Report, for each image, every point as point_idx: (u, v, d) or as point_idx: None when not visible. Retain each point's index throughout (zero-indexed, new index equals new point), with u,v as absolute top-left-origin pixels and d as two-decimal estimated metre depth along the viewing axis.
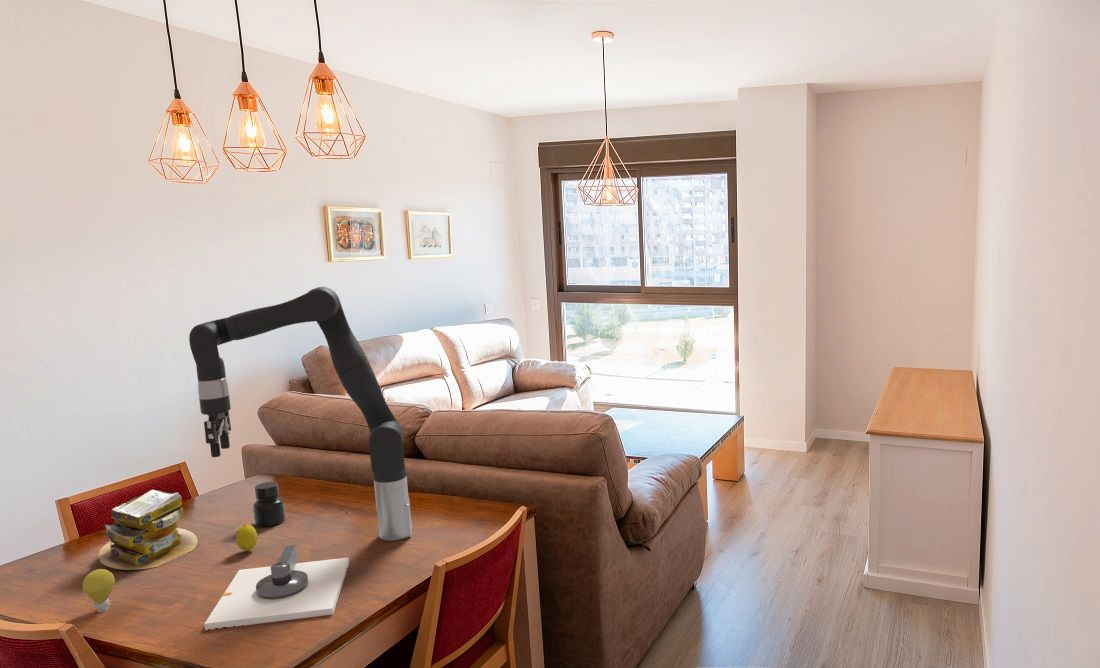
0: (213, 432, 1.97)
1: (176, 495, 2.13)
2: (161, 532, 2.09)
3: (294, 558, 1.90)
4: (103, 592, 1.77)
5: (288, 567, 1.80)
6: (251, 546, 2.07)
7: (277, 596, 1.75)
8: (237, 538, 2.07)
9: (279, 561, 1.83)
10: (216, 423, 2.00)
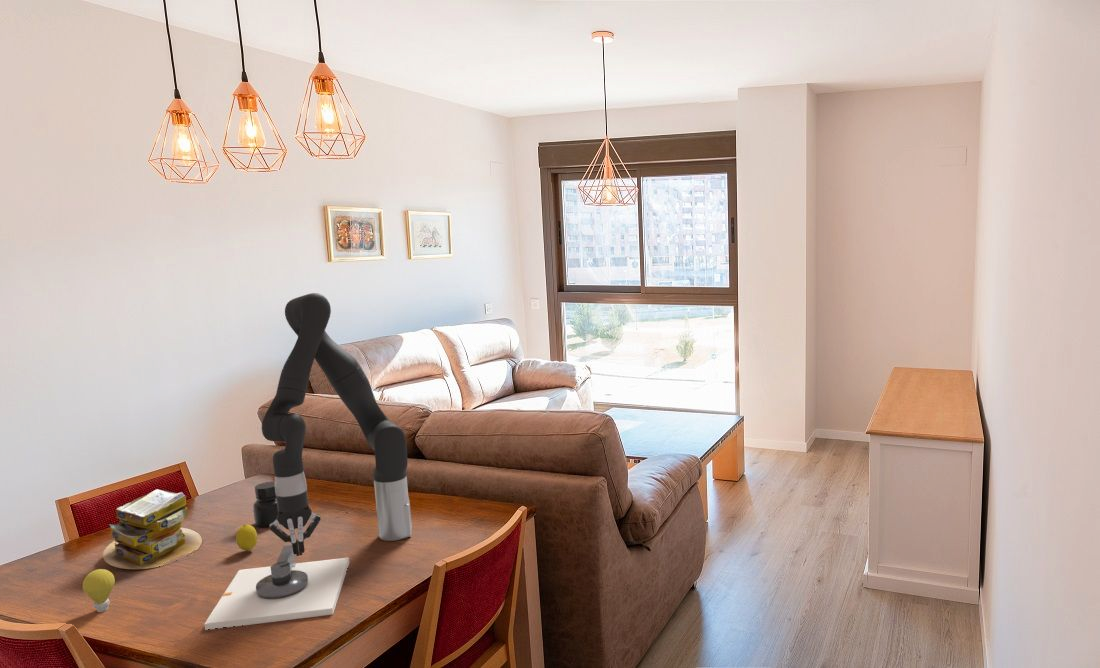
0: None
1: (180, 495, 2.13)
2: (166, 531, 2.09)
3: (292, 558, 1.90)
4: (103, 592, 1.77)
5: (288, 567, 1.80)
6: (251, 546, 2.07)
7: (278, 596, 1.76)
8: (237, 538, 2.07)
9: (278, 561, 1.83)
10: None
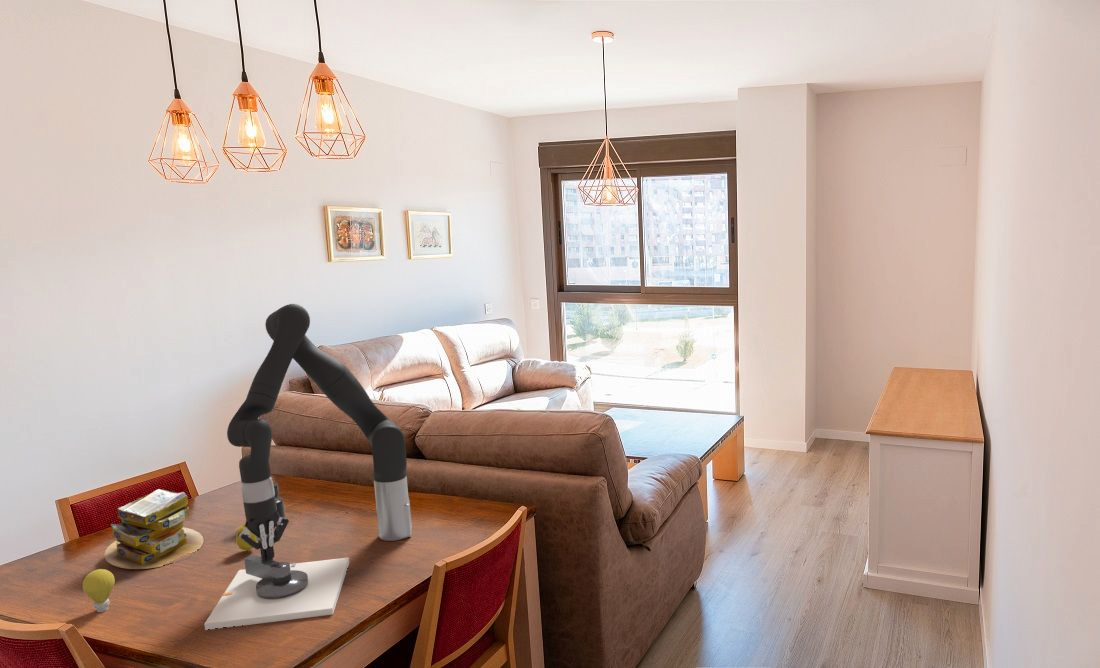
0: None
1: (182, 494, 2.13)
2: (167, 531, 2.09)
3: None
4: (103, 592, 1.77)
5: None
6: (251, 546, 2.07)
7: (299, 589, 1.78)
8: (237, 538, 2.07)
9: (270, 564, 1.82)
10: None
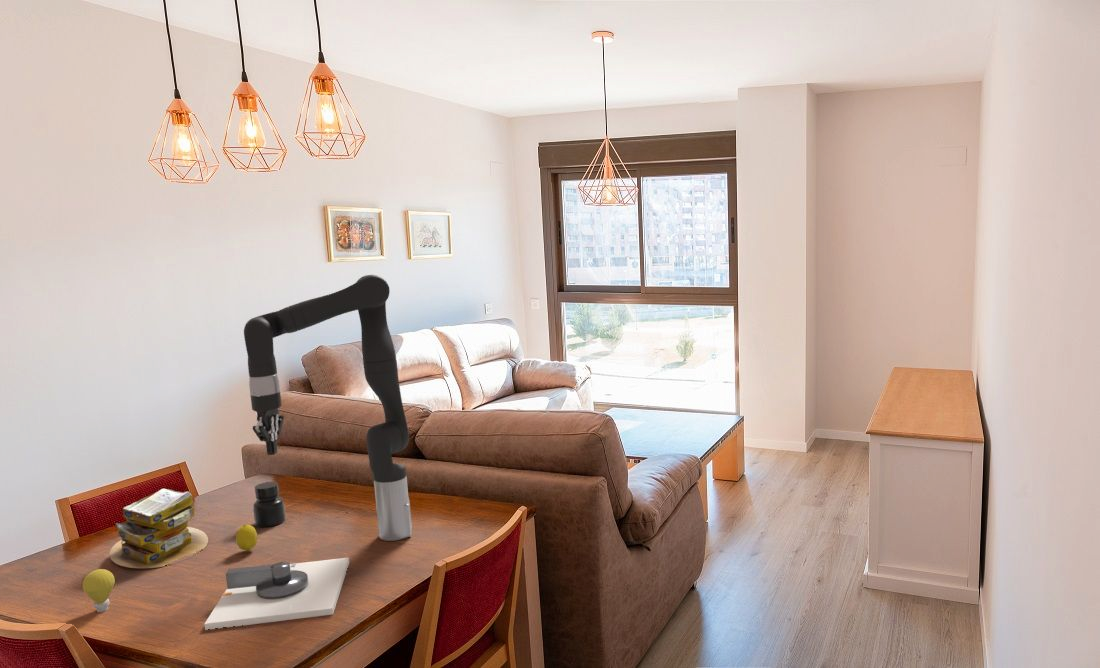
0: None
1: (187, 494, 2.13)
2: (172, 531, 2.09)
3: None
4: (103, 592, 1.77)
5: None
6: (251, 546, 2.07)
7: (307, 582, 1.82)
8: (237, 538, 2.07)
9: (268, 568, 1.80)
10: None
